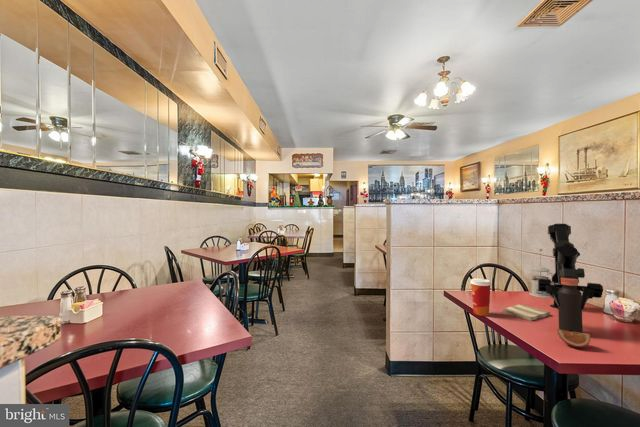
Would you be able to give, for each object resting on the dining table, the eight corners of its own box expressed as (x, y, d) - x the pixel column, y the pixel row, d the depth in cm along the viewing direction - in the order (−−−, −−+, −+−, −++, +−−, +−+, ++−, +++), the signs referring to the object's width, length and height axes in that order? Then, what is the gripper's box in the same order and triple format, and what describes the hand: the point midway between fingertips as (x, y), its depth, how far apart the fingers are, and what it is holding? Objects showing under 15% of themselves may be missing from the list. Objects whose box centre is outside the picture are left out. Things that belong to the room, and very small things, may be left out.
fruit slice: (558, 346, 97) (558, 331, 97) (556, 339, 103) (556, 325, 103) (592, 353, 92) (592, 337, 92) (588, 344, 98) (588, 330, 98)
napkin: (520, 307, 136) (520, 304, 136) (549, 315, 126) (549, 311, 126) (501, 312, 130) (501, 308, 130) (530, 321, 119) (530, 317, 119)
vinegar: (554, 330, 110) (553, 277, 110) (565, 327, 113) (563, 275, 113) (576, 337, 104) (575, 281, 104) (586, 333, 106) (585, 279, 106)
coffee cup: (474, 309, 134) (473, 277, 134) (494, 313, 129) (493, 279, 129) (467, 314, 129) (467, 280, 129) (488, 318, 123) (487, 283, 123)
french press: (525, 292, 160) (524, 247, 160) (547, 292, 159) (547, 247, 159) (536, 297, 151) (536, 249, 150) (560, 298, 149) (560, 249, 149)
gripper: (537, 258, 117) (539, 291, 108) (601, 261, 106) (609, 299, 97) (537, 274, 123) (539, 307, 114) (597, 279, 112) (604, 316, 103)
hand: (570, 307), depth 107 cm, fingers closed on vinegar, 6 cm apart
